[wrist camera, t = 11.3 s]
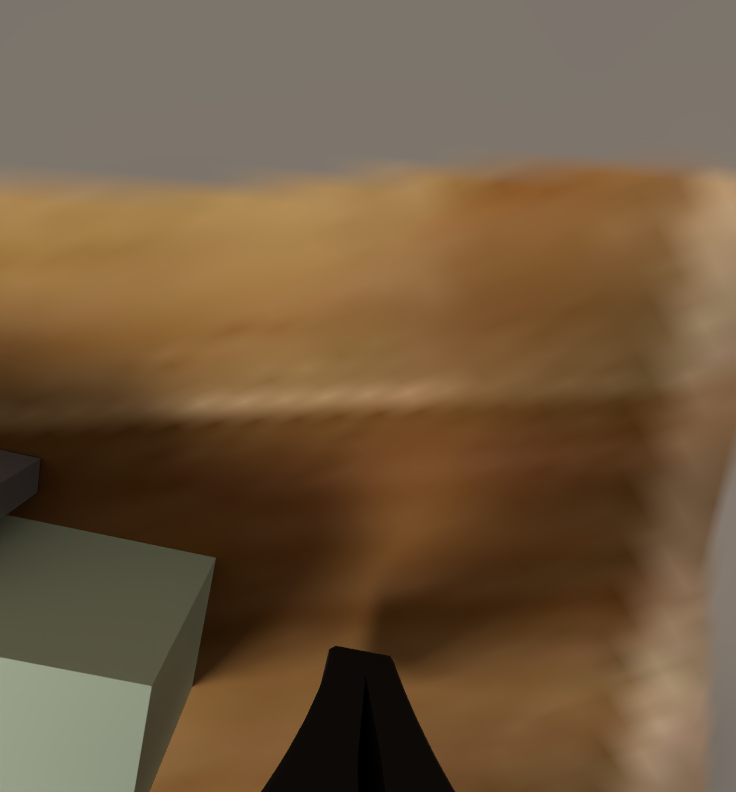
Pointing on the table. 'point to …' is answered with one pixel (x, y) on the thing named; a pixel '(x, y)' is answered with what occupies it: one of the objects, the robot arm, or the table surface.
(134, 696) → the rectangular block
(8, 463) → the dark grey piece
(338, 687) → the robot arm
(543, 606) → the table surface
